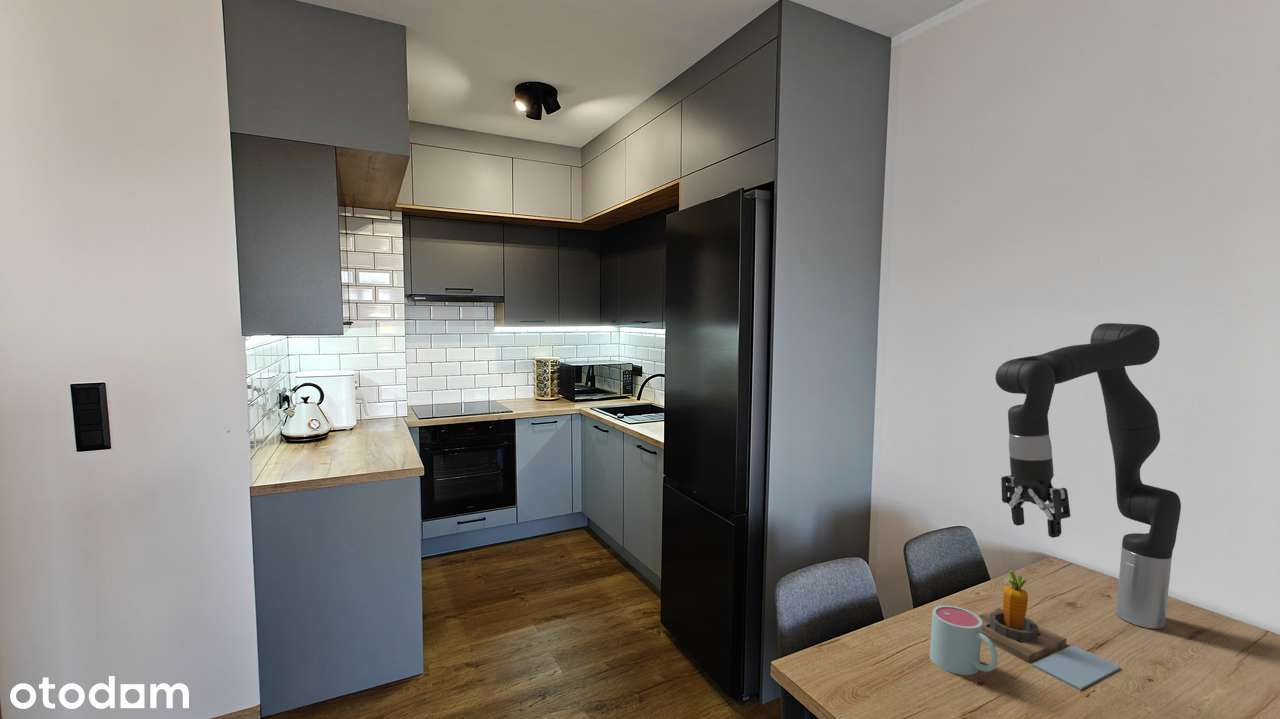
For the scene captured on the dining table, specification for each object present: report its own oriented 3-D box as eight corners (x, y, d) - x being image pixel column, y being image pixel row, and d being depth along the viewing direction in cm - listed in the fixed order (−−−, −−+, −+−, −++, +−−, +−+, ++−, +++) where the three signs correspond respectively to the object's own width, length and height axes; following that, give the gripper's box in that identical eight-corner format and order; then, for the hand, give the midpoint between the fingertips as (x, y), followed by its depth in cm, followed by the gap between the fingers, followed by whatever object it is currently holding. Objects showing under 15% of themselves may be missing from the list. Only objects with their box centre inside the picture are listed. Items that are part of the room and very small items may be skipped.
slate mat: (1072, 646, 131) (1072, 645, 131) (1120, 668, 123) (1120, 666, 123) (1031, 665, 123) (1032, 663, 123) (1080, 690, 115) (1080, 688, 115)
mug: (919, 654, 126) (922, 609, 125) (950, 645, 130) (953, 602, 129) (978, 693, 114) (982, 643, 113) (1010, 682, 117) (1014, 634, 117)
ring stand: (998, 613, 145) (999, 600, 144) (1066, 644, 131) (1067, 630, 131) (960, 628, 137) (962, 613, 137) (1028, 662, 124) (1029, 646, 124)
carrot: (1029, 643, 132) (1034, 579, 130) (1004, 640, 132) (1009, 576, 131) (1019, 632, 136) (1024, 569, 135) (996, 629, 137) (1001, 567, 136)
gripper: (1076, 458, 117) (1082, 538, 118) (1016, 446, 131) (1022, 518, 132) (1046, 463, 115) (1052, 544, 116) (988, 451, 129) (994, 523, 130)
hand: (1036, 530), depth 124 cm, fingers open, 8 cm apart
